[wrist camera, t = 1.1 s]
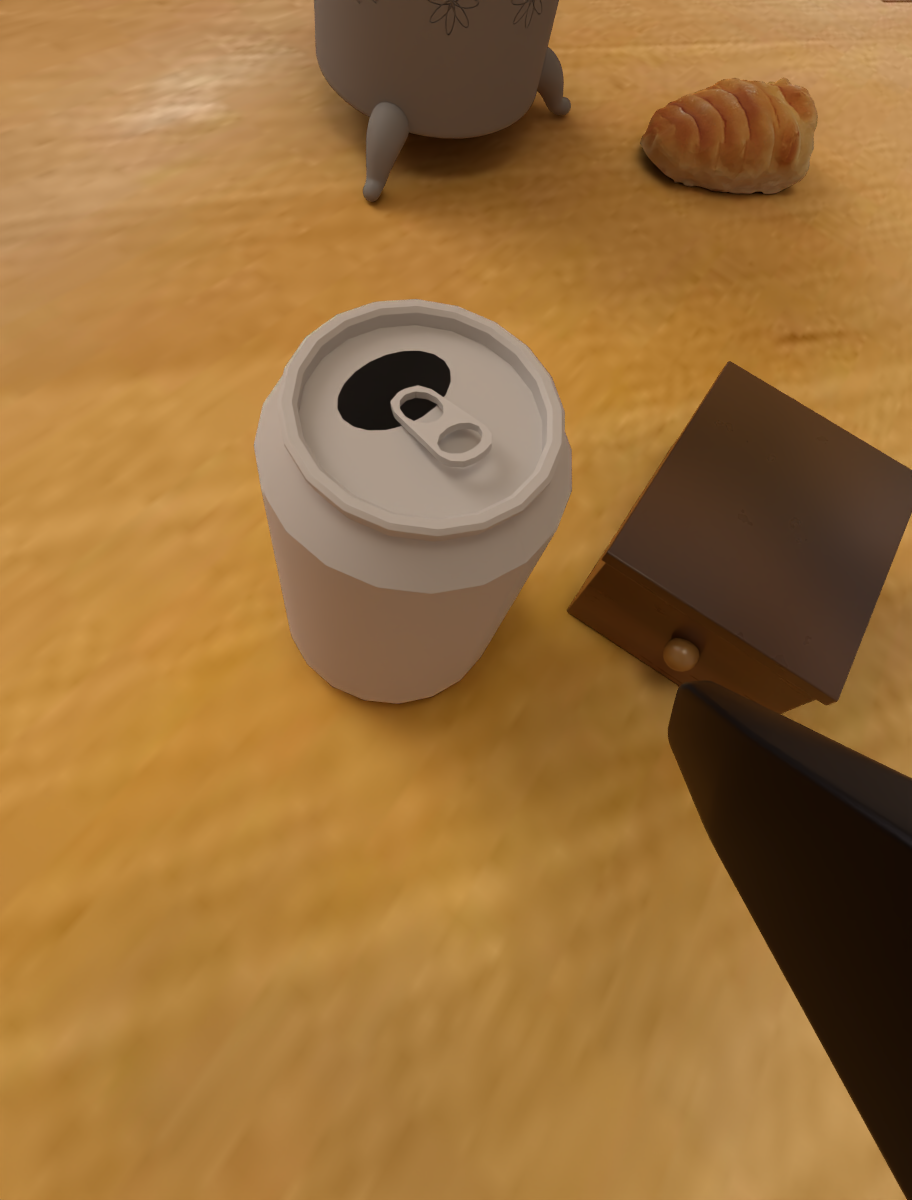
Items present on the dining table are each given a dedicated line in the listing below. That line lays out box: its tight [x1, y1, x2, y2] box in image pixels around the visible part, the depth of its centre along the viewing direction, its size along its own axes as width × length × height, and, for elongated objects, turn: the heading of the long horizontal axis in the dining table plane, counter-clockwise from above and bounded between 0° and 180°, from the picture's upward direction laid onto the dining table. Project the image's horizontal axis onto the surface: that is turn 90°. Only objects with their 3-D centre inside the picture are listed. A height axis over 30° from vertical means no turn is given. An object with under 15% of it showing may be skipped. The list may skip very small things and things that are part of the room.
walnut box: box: [567, 361, 912, 714], centre depth 25 cm, size 11×8×5 cm
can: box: [254, 299, 572, 704], centre depth 20 cm, size 8×8×12 cm
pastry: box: [640, 78, 818, 194], centre depth 37 cm, size 9×7×4 cm
